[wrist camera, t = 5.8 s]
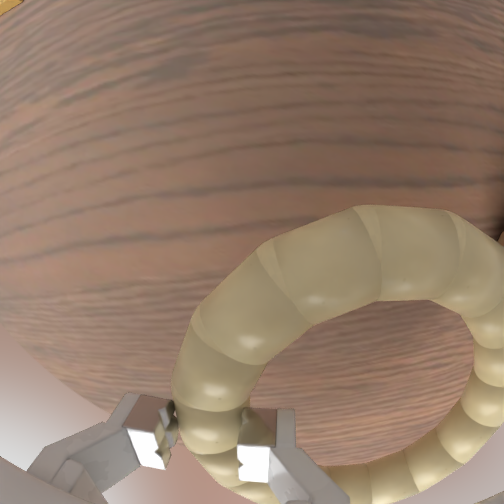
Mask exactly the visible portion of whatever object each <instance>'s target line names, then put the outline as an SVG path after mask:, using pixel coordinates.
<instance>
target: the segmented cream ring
mask: <svg viewBox="0 0 504 504" xmlns="http://www.w3.org/2000/svg"><path fill="white" fill-rule="evenodd" d="M404 300H431V301H433V302H435V303H437V304H439V305H442V306H444V307H446V308H448V309H450V310H452V311H454V312H456V313H458V314H460V315H461V317H462V319H463V320H464V322H465V323H466V325H467V327H468V328H469V330H470V332H471V333H472V335H473V345H474V366H473V368H472V371H471V374H470V376H469V379H468V382H467V384H466V387H465V389H464V391H463V394H462V396H461V398H460V399H459V400H458V401H457V403H456V404H455V405H454V406H453V408H452V409H451V410H450V411H449V413H448V414H447V415H446V416H445V417H444V419H443V420H442V421H441V422H440V423H439V424H438V426H437V427H435V428H434V429H432V430H431V431H430V432H428V433H427V434H425V435H424V436H423V437H421V438H420V439H418V440H417V441H415V442H414V443H412V444H411V445H409V446H408V447H406V448H405V449H403V450H401V451H398V452H396V453H393V454H390V455H387V456H385V457H382V458H379V459H376V460H373V461H370V462H367V463H362V464H352V465H340V466H321V465H318V466H319V467H320V468H321V469H322V470H323V471H324V472H325V473H326V474H327V475H328V476H329V477H330V478H331V479H332V480H333V481H334V482H335V483H336V484H337V485H338V486H339V487H340V488H341V489H342V490H343V491H344V492H345V493H346V494H347V495H348V496H349V497H350V504H391V503H394V502H397V501H400V500H402V499H405V498H407V497H410V496H413V495H415V494H418V493H420V492H422V491H424V490H426V489H427V488H429V487H431V486H432V485H434V484H436V483H437V482H439V481H440V480H442V479H443V478H445V477H447V476H448V475H450V474H451V473H453V472H454V471H456V470H457V469H458V468H460V467H461V466H462V465H464V464H465V463H466V462H468V461H469V460H470V459H471V458H472V457H473V456H474V455H475V454H476V453H477V452H478V451H479V450H480V449H481V447H482V446H483V445H484V444H485V443H486V442H487V441H488V440H489V439H490V438H491V436H492V435H493V434H494V433H495V432H496V431H497V430H498V429H499V427H500V426H501V425H502V424H503V422H504V247H503V246H502V245H500V244H499V243H498V242H496V241H495V240H494V239H492V238H491V237H489V236H488V235H487V234H485V233H484V232H482V231H481V230H479V229H478V228H476V227H475V226H474V225H472V224H471V223H469V222H468V221H466V220H465V219H463V218H462V217H460V216H459V215H457V214H455V213H452V212H450V211H448V210H443V209H435V208H421V207H405V206H388V205H358V206H354V207H351V208H348V209H345V210H343V211H340V212H338V213H335V214H333V215H330V216H327V217H325V218H322V219H320V220H317V221H314V222H312V223H309V224H307V225H304V226H302V227H299V228H297V229H294V230H291V231H289V232H286V233H284V234H281V235H279V236H276V237H273V238H271V239H269V240H267V241H265V242H264V243H263V244H261V245H260V246H259V247H258V248H256V249H255V250H254V251H253V252H252V253H251V254H250V255H249V256H248V257H247V258H246V259H245V260H244V261H243V262H242V263H241V264H240V265H239V266H238V267H237V268H236V269H235V270H234V271H233V272H231V273H230V274H229V275H228V276H227V277H226V278H225V279H224V280H223V281H222V282H221V283H220V284H219V285H218V286H217V287H216V288H215V289H214V290H213V291H212V292H211V293H210V294H209V295H208V296H207V297H206V298H204V299H203V300H202V302H201V303H200V304H199V305H198V307H197V308H196V310H195V312H194V313H193V316H192V318H191V321H190V324H189V326H188V329H187V332H186V335H185V337H184V340H183V343H182V346H181V349H180V351H179V354H178V357H177V360H176V363H175V366H174V369H173V371H172V376H171V391H172V396H173V401H174V406H175V411H176V416H177V420H178V425H179V430H180V434H181V437H182V440H183V442H184V444H185V445H186V447H187V448H188V449H189V450H190V452H191V453H192V454H193V455H194V457H195V458H196V459H197V460H198V461H199V462H200V463H201V465H202V466H203V467H204V468H205V469H206V470H207V471H208V473H209V474H211V476H212V477H213V478H214V479H215V480H216V481H217V482H218V483H219V484H221V485H222V486H224V487H226V488H228V489H229V490H231V491H233V492H235V493H237V494H239V495H241V496H243V497H245V498H247V499H249V500H251V501H253V502H256V503H258V504H281V503H280V502H279V500H278V499H277V497H276V496H275V494H274V493H273V491H272V490H271V488H270V487H269V485H268V483H264V482H251V481H240V480H239V473H238V466H239V460H238V458H237V441H238V435H239V429H240V427H241V426H242V412H243V408H244V407H247V408H250V394H251V392H252V390H253V388H254V387H255V385H256V383H257V381H258V380H259V378H260V376H261V374H262V372H263V371H264V369H265V367H266V365H267V363H268V362H269V360H271V359H272V358H273V357H275V356H276V355H277V354H278V353H280V352H281V351H282V350H284V349H285V348H286V347H287V346H289V345H290V344H291V343H292V342H294V341H295V340H296V339H297V338H299V337H300V336H301V335H302V334H304V333H305V332H306V331H307V330H309V329H310V328H311V327H312V326H313V325H315V324H318V323H321V322H323V321H326V320H329V319H332V318H334V317H337V316H340V315H342V314H345V313H347V312H350V311H353V310H355V309H358V308H360V307H363V306H365V305H368V304H370V303H373V302H375V301H404Z"/></svg>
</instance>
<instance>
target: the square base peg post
mask: <svg viewBox="0 0 504 504" xmlns="http://www.w3.org/2000/svg"><path fill="white" fill-rule="evenodd" d="M22 2H23V0H0V15H2V14H3V13H5V12H7V11H8V10H10V9H11V8H13V7H15V6H16V5H18V4H20V3H22Z"/></svg>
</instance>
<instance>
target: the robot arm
mask: <svg viewBox="0 0 504 504" xmlns="http://www.w3.org/2000/svg"><path fill="white" fill-rule="evenodd" d="M174 411H175V406H174V401H172V400H169V399H163V398H158V397H153V396H147V395H141V394H136V393H132V392H128V393H126V394H125V395H124V396H123V398H122V399H121V401H120V402H119V404H118V405H117V407H116V408H115V410H114V411H113V413H112V414H111V416H110V418H109V419H108V421H107V422H106V423H104V422H101V423H99V424H96V425H95V426H92V427H90V428H88V429H85V430H83V431H81V432H79V433H76V434H74V435H72V436H69V437H67V438H65V439H62V440H60V441H58V442H55V443H53V444H50V445H48V446H46V447H44V449H43V450H42V451H41V453H40V454H39V455H38V457H37V458H36V459H35V460H34V462H33V463H32V464H31V466H30V467H29V468H28V470H27V471H24V470H22V469H21V468H19V467H17V466H15V465H14V464H12V463H10V462H9V461H7V460H5V459H4V458H2V457H1V456H0V504H108V502H107V501H106V500H105V498H104V497H103V495H102V494H101V493H103V492H104V491H106V490H107V489H109V488H110V487H112V486H113V485H115V484H116V483H118V482H119V481H120V480H122V479H123V478H125V477H126V476H128V475H129V474H130V473H132V472H133V471H135V470H136V469H137V468H139V467H140V465H143V466H147V467H153V468H158V469H163V470H166V467H167V465H168V462H169V460H170V457H171V452H170V448H171V447H173V446H174V445H175V444H176V441H177V438H178V432H179V426H178V420H177V418H176V417H175V416H174V415H173V414H174ZM237 458H238V460H239V466H238V473H239V480H240V481H251V482H264V483H268V485H269V487H270V488H271V490H272V491H273V493H274V494H275V496H276V497H277V499H278V500H279V502H280V503H281V504H350V497H349V496H348V495H347V494H346V493H345V492H344V491H343V490H342V489H341V488H340V487H339V486H338V485H337V484H336V483H335V482H334V481H333V480H332V479H331V478H330V477H329V476H328V475H327V474H326V473H325V472H324V471H323V470H322V469H321V468H320V467H319V466H318V465H317V464H316V463H315V462H314V461H313V460H312V459H311V458H310V457H309V456H308V455H307V454H306V452H305V451H304V450H303V449H302V448H296V424H295V410H294V408H278V409H273V408H247V407H244V408H243V412H242V426H241V427H240V429H239V435H238V441H237ZM475 504H504V491H503V492H501V493H498V494H496V495H494V496H492V497H489V498H487V499H485V500H483V501H480V502H478V503H475Z"/></svg>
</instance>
